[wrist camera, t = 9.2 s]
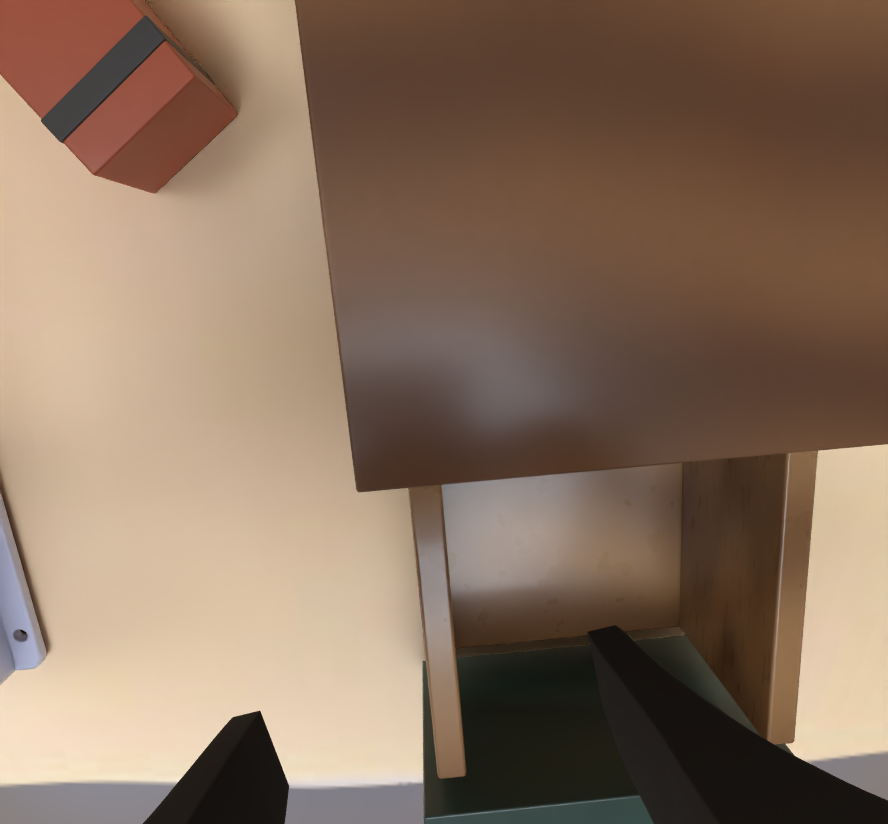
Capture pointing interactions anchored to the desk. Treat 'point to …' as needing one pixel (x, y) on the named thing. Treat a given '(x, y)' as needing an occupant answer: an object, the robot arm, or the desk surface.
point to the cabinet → (601, 230)
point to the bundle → (111, 86)
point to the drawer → (600, 621)
